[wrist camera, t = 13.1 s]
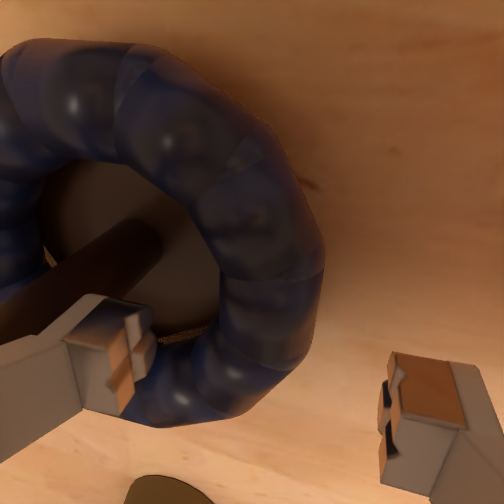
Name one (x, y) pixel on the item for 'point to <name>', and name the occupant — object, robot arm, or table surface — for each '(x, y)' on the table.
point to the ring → (180, 189)
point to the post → (115, 252)
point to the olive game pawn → (163, 492)
